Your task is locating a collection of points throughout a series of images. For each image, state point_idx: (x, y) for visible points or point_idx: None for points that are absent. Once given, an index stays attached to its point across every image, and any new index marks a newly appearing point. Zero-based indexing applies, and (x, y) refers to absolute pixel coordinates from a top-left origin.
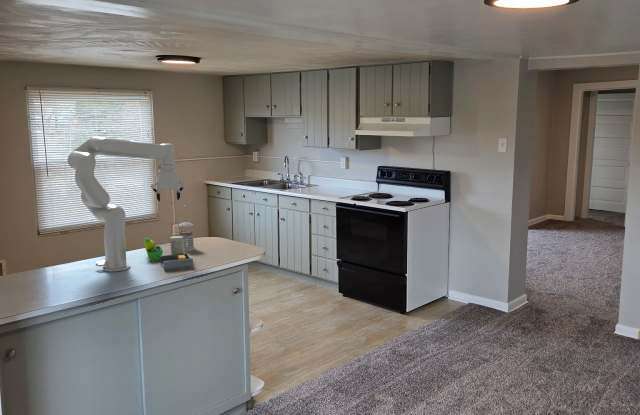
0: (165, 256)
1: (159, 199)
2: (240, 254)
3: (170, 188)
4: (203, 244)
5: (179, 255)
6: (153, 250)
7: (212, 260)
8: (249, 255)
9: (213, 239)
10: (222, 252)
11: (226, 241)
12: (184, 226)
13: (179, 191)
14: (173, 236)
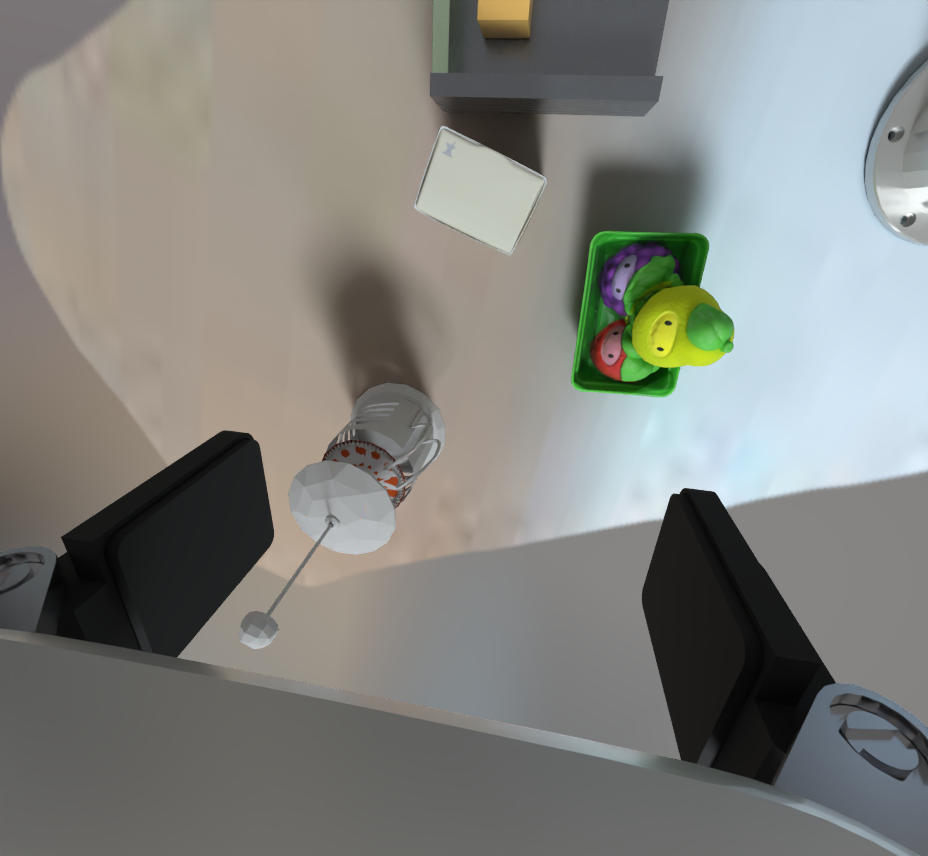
0: (618, 78)
1: (706, 511)
2: (111, 149)
3: (182, 721)
4: None
5: (515, 12)
6: (661, 258)
7: (288, 62)
8: (55, 93)
9: None
10: (215, 255)
11: None
12: (356, 467)
13: (8, 582)
14: (501, 232)
